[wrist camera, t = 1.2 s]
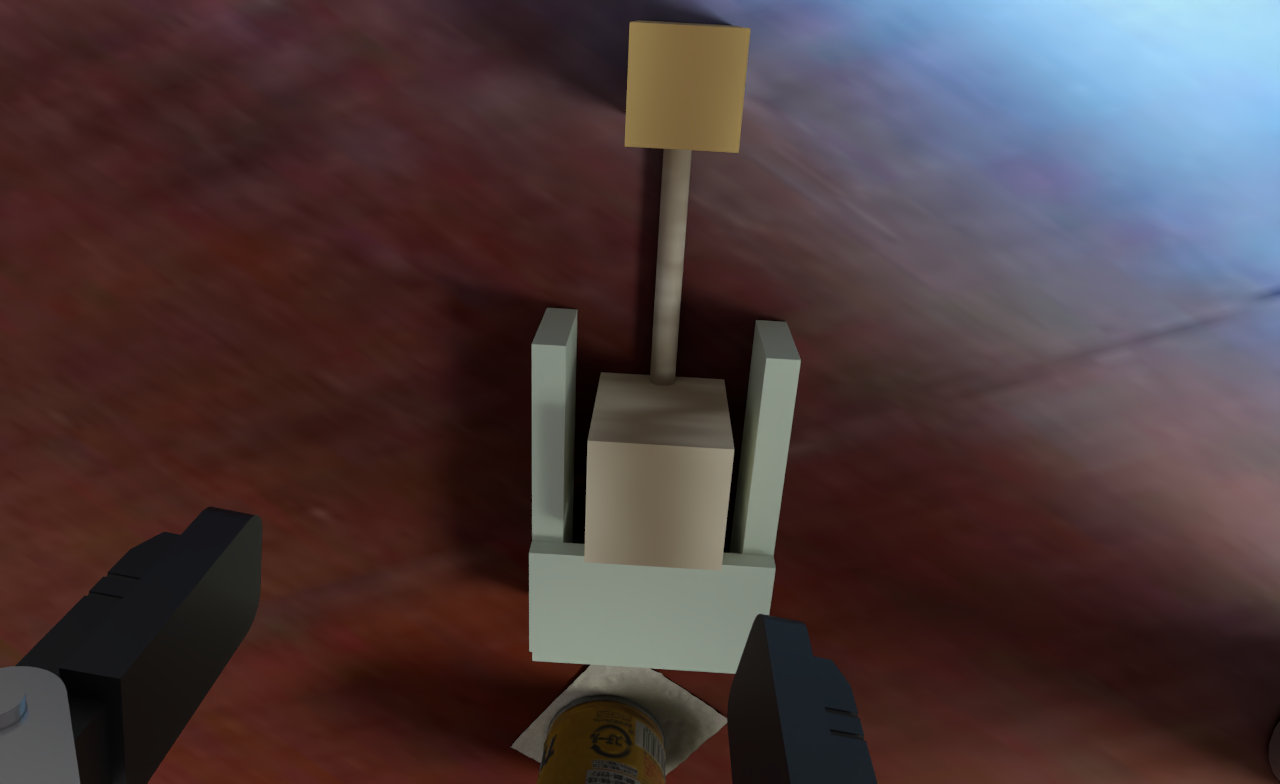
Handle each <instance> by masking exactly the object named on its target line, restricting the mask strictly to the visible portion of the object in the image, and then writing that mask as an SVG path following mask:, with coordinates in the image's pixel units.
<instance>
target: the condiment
mask: <svg viewBox="0 0 1280 784" xmlns="http://www.w3.org/2000/svg"><path fill="white" fill-rule="evenodd" d="M726 723H727V718H725V717H724V716H722V715H721V714H719V713H717V712H716V711H715V710H714V709H713V708H712V707H710V706H708V705H707V704H705V703H704V702H702V701H701V700H700V699H698V698H696V697H694V696H693V695H691V694H690V693H689V692H688V691H686V690H685V689H683V688H681V687H680V686H678V685H677V684H675V683H673V682H672V681H670V680H668V679H667V678H665V677H664V676H663V674H661V673H659V672H656V671H654V670H652V669H650V668H639V667H623V666H607V665H591V664H590V666H589V667H588V668H587V669H586V670H585V671H584V672H583V673H582V674H581V675H580V676H579V677H578V678H577V679H576V680H575V681H574V682H573V684H572V685H570V686H569V687H568V688H567V689H566V690H565V691H564V692H563V693H562V694H561V695H560V696H559V697H558V698H557V699H556V700H554V702H553V703H551V705H550V706H549V707H548V708H547V709H546V710H545V711H544V712H543V713H542V714H541V715H540V716H539V717H538V718H537V719H536V720H535V721H534V722H533V723H532V724H531V725H530V726H529V727H528V729H527V730H526V731H524V732H523V733H522V734H521V735H520V736H519V738H518V739H517V740H516V741H515V742H514V743H513V745H512V746H511V747H512V748H514V749H516V750H518V751H519V752H521V753H523V754H524V755H526V756H528V757H530V758H533V759H534V760H536V761H537V762H539V763H541V764H540V771H539V775H538V781H537V784H665V776H666V775H667V774H668V773H669V772H670V771H672V770H673V769H674V768H676V767H677V765H678V764H680V763H682V762H683V761H685V760H686V759H687V758H688V756H689V755H690V754H691V753H692V752H694V751H695V750H697V748H698V747H699V746H700V745H701V744H702V743H704V742H705V741H706V740H707V739H708V738H710V737H711V736H713V735H714V734H715V733H717V732H718V731H719V730H720V729H721V728H722V727H723V726H724V725H725V724H726Z"/></svg>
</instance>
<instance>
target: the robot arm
mask: <svg viewBox="0 0 1280 784" xmlns="http://www.w3.org/2000/svg"><path fill="white" fill-rule="evenodd" d="M261 553H262V521H261V518H260V517H259V516H257V515H252V514H246V513H241V512H236V511H231V510H225V509H220V508H215V507H208V508H206V509H205V510H203V511H202V512H201V514H200V515H199V516H198V517H197V518H196V519H195V520H194V521H193V522H192V523H191V524H190V525H189V527H188V528H187V529H186V530H185V531H184V532H183V533H182V534H181V535H178V534H173V533H168V532H163V533H161V534H159V535H157V536H155V537H153V538H151V539H149V540H147V541H145V542H143V543H141V544H140V545H138V546H136V547H134V548H132V549H130V550H129V551H128V552H127V553H126V554H125V555H124V556H123V557H122V558H121V559H120V560H119V561H118V562H117V563H116V564H115V565H114V566H113V567H112V568H111V570H110V571H109V572H108V575H107V577H103V578H102V579H101V580H100V581H99V582H98V583H97V584H96V585H95V586H94V587H93V588H92V589H91V590H90V591H89V595H88V596H84V597H83V598H82V599H81V600H80V601H79V602H78V603H77V604H76V605H75V606H74V607H73V608H72V609H71V610H70V611H69V612H68V613H67V614H66V615H65V616H64V617H63V618H62V619H61V620H60V621H59V622H58V623H57V624H56V625H55V626H54V627H53V628H52V629H51V630H50V631H49V632H48V633H47V634H46V635H45V636H44V637H43V638H42V639H41V640H40V641H39V642H38V643H37V644H36V646H35V647H34V648H33V649H32V650H31V651H30V652H29V653H28V654H27V655H26V656H25V657H24V658H23V659H22V660H21V661H20V662H19V663H18V664H17V665H16V666H14V667H5V668H0V784H147V783H148V781H149V780H150V778H151V777H152V775H153V774H154V772H155V771H156V769H157V768H158V766H159V765H160V763H161V762H162V760H163V759H164V757H165V756H166V754H167V753H168V751H169V750H170V748H171V747H172V745H173V744H174V742H175V741H176V739H177V738H178V736H179V735H180V733H181V732H182V730H183V729H184V727H185V726H186V724H187V723H188V721H189V720H190V718H191V717H192V715H193V714H194V712H195V711H196V709H197V708H198V706H199V705H200V703H201V702H202V700H203V699H204V697H205V696H206V694H207V693H208V691H209V690H210V688H211V687H212V685H213V684H214V682H215V681H216V679H217V678H218V676H219V675H220V673H221V672H222V670H223V669H224V667H225V666H226V664H227V663H228V661H229V660H230V658H231V657H232V655H233V654H234V652H235V651H236V649H237V648H238V646H239V645H240V643H241V642H242V640H243V639H244V637H245V636H246V634H247V633H248V631H249V629H250V627H251V625H252V623H253V620H254V617H255V614H256V611H257V608H258V604H259V598H260V584H261ZM857 715H858V711H857V708H856V704H855V700H854V697H853V693H852V689H851V686H850V685H849V683H848V682H847V680H846V679H845V678H844V676H843V675H842V674H841V672H840V671H839V669H838V668H837V667H836V665H835V664H834V663H833V661H832V660H829V659H824V658H819V657H814V656H813V653H812V649H811V645H810V640H809V636H808V632H807V628H806V625H805V624H804V622H801V621H795V620H790V619H785V618H780V617H775V616H769V615H764V614H758V615H757V616H756V618H755V620H754V622H753V624H752V627H751V630H750V633H749V636H748V639H747V642H746V645H745V648H744V651H743V653H742V656H741V659H740V662H739V665H738V668H737V671H736V674H735V677H734V680H733V683H732V686H731V690H730V695H729V702H728V713H727V724H728V736H729V747H730V758H731V770H732V781H733V784H877V780H876V777H875V773H874V769H873V766H872V762H871V758H870V755H869V751H868V748H867V744H866V741H864V733H863V729H862V726H861V722H860V718H857ZM1269 762H1270V765H1271V769H1272V772H1273V773H1274V775H1275V776H1276V777H1277V779H1278V780H1279V782H1280V721H1279V723H1278V724H1277V726H1276V727H1275V729H1274V731H1273V734H1272V737H1271V740H1270V743H1269Z"/></svg>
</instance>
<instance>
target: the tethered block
mask: <svg viewBox="0 0 1280 784" xmlns="http://www.w3.org/2000/svg"><path fill="white" fill-rule="evenodd" d="M749 38H750V28H745V27H739V26H733V25H716V24H698V23H680V22H661V21H643V20H638V21H632V22H630V27H629V52H628V76H627V101H626V126H625V146H626V147H644V148H662V149H664V150H663V167H662V184H661V201H660V218H659V235H658V252H657V269H656V286H655V302H654V319H653V336H652V353H651V370H650V375H640V374H623V373H606V372H601V374H600V379H599V385H598V390H597V395H596V400H595V405H594V410H593V415H592V420H591V426H590V431H589V436H588V442H587V479H586V517H585V554H584V562H587V563H604V564H620V565H637V566H653V567H669V568H686V569H702V570H719V571H721V569H722V560H723V551H724V541H725V532H726V523H727V514H728V504H729V495H730V486H731V477H732V468H733V458H734V443H733V436H732V429H731V422H730V416H729V409H728V402H727V395H726V388H725V381H724V379H708V378H691V377H675V373H676V360H677V346H678V332H679V318H680V304H681V291H682V277H683V263H684V249H685V236H686V222H687V208H688V194H689V181H690V167H691V153H692V150H697V151H715V152H733V153H739V144H740V133H741V122H742V112H743V101H744V91H745V80H746V70H747V59H748V49H749Z"/></svg>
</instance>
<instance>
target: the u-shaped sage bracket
mask: <svg viewBox="0 0 1280 784" xmlns="http://www.w3.org/2000/svg"><path fill="white" fill-rule="evenodd" d="M577 311H578V309H561V308H547V309H546V311H545V314H544V316H543V318H542V321H541V323H540V326H539V328H538V330H537V333H536V335H535V337H534V340H533V342H532V543H531V547H530V551H529V652H532V661H544V662H560V663H576V664H591V665H607V666H623V667H639V668H654V669H670V670H686V671H702V672H718V673H733V674H736V671H737V668H738V665H739V662H740V659H741V656H742V653H743V651H744V648H745V645H746V642H747V639H748V636H749V633H750V630H751V627H752V624H753V622H754V620H755V618H756V616H757V615H758V614H764V615H769V613H770V605H771V598H772V591H773V584H774V577H775V570H776V566H775V561H774V548H775V541H776V534H777V527H778V520H779V513H780V506H781V499H782V491H783V484H784V477H785V470H786V463H787V456H788V449H789V441H790V434H791V427H792V420H793V413H794V406H795V399H796V392H797V384H798V377H799V370H800V363H801V359H800V357H799V354H798V351H797V349H796V346H795V343H794V341H793V338H792V335H791V333H790V330H789V327H788V325H787V322H780V321H764V320H756V323H755V332H754V340H753V349H752V358H751V367H750V375H749V384H748V393H747V402H746V411H745V419H744V428H743V437H742V446H741V454H740V463H739V472H738V481H737V490H736V498H735V507H734V516H733V525H732V533H731V542H730V551H729V553H723V560H722V569H721V571H719V570H702V569H686V568H669V567H653V566H637V565H620V564H604V563H587V562H584V554H585V544H576V543H573V497H574V451H575V404H576V357H577Z"/></svg>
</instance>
